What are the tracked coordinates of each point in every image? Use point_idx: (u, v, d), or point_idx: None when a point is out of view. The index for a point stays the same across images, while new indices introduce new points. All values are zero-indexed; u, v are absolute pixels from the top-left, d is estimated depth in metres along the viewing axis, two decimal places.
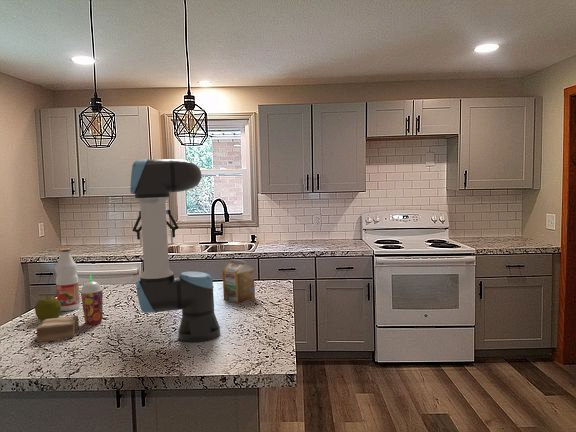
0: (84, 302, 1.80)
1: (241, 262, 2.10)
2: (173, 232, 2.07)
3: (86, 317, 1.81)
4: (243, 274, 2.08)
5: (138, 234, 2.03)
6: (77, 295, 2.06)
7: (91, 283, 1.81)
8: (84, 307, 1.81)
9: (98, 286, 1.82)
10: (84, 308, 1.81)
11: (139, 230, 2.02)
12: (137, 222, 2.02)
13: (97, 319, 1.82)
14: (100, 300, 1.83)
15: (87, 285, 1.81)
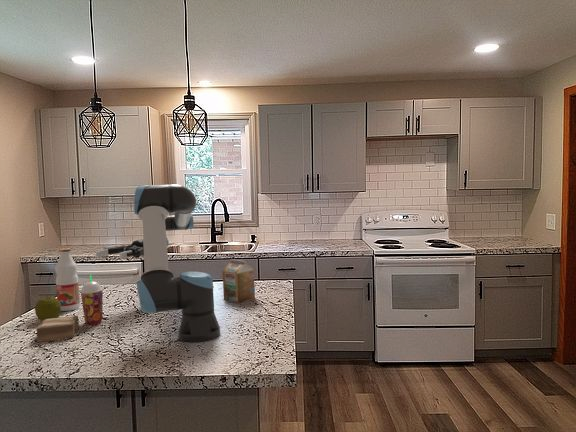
0: (84, 302, 1.80)
1: (241, 262, 2.10)
2: (131, 252, 1.93)
3: (86, 317, 1.81)
4: (243, 274, 2.08)
5: None
6: (77, 295, 2.06)
7: (91, 283, 1.81)
8: (84, 307, 1.81)
9: (98, 286, 1.82)
10: (84, 308, 1.81)
11: (108, 248, 2.01)
12: (113, 247, 2.04)
13: (97, 319, 1.82)
14: (100, 300, 1.83)
15: (87, 285, 1.81)
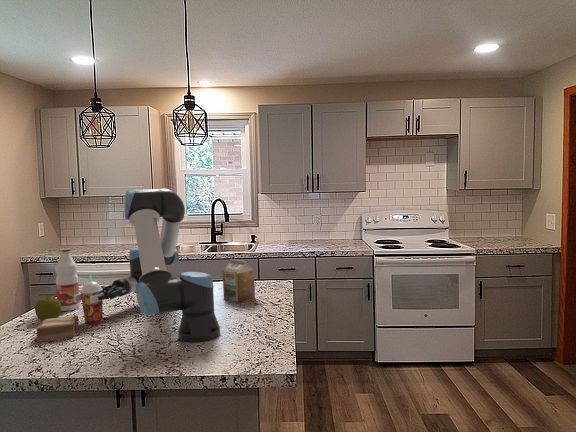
0: (84, 302, 1.80)
1: (241, 262, 2.10)
2: (103, 295, 1.82)
3: (86, 317, 1.81)
4: (243, 274, 2.08)
5: None
6: None
7: (91, 283, 1.81)
8: (84, 307, 1.81)
9: (98, 286, 1.82)
10: (84, 308, 1.81)
11: None
12: None
13: (97, 319, 1.82)
14: None
15: (87, 285, 1.81)
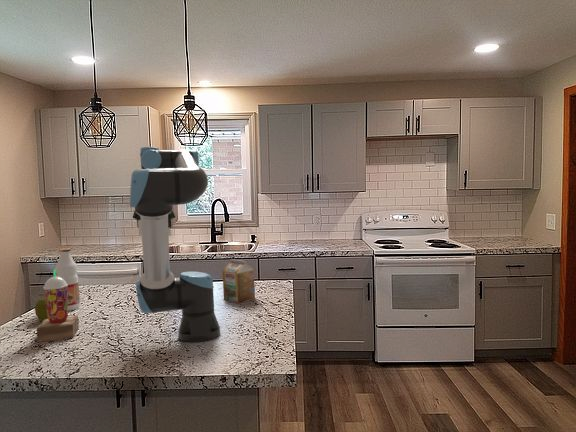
0: (47, 299, 1.66)
1: (241, 262, 2.10)
2: (167, 222, 1.83)
3: (49, 315, 1.67)
4: (243, 274, 2.08)
5: None
6: (77, 295, 2.06)
7: (55, 278, 1.68)
8: (47, 304, 1.67)
9: (62, 282, 1.68)
10: (47, 305, 1.67)
11: (138, 217, 1.88)
12: None
13: (61, 317, 1.68)
14: (65, 297, 1.69)
15: (50, 280, 1.67)
